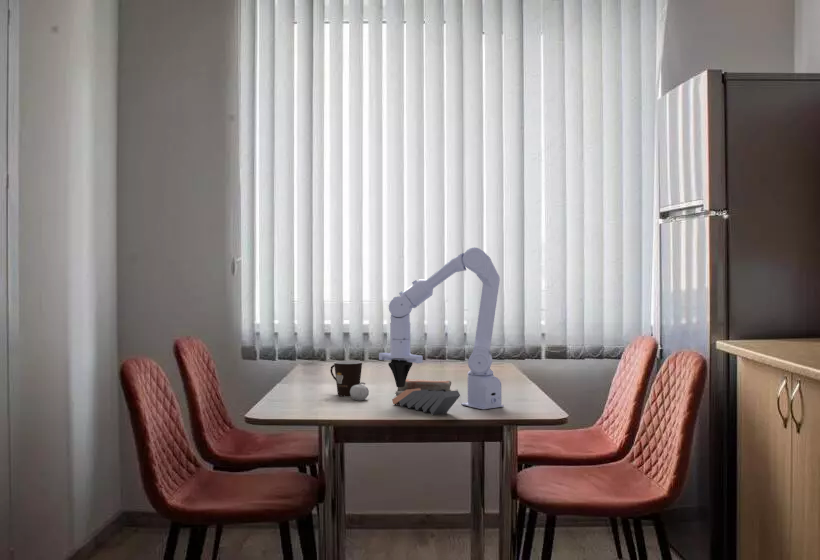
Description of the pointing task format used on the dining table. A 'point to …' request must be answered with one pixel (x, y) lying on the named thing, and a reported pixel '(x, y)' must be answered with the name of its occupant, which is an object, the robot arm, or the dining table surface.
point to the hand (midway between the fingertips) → (400, 386)
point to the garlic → (359, 391)
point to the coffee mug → (346, 375)
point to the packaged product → (425, 385)
